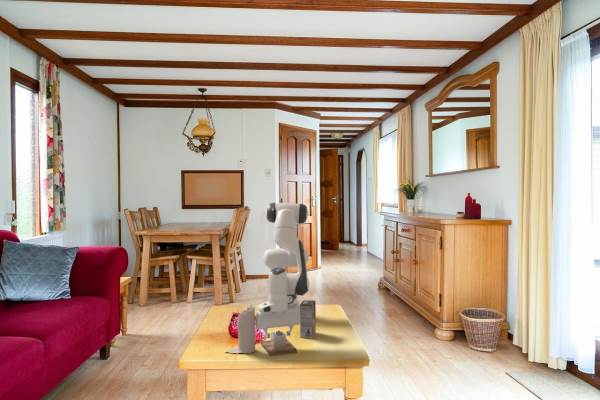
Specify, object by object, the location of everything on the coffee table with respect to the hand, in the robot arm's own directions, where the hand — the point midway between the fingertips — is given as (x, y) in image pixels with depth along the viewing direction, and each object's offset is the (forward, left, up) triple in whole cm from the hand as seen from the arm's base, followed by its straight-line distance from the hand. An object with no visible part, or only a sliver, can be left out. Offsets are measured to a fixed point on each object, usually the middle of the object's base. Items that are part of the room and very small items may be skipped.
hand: (278, 336), depth 188 cm
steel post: (0, 0, -4) cm, 4 cm away
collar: (0, 0, -4) cm, 4 cm away
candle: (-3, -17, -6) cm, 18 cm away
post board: (0, 0, -5) cm, 5 cm away
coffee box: (-13, +19, -6) cm, 24 cm away
